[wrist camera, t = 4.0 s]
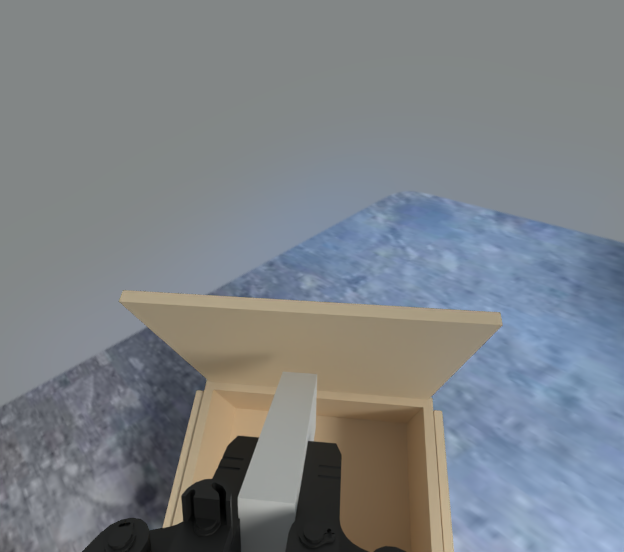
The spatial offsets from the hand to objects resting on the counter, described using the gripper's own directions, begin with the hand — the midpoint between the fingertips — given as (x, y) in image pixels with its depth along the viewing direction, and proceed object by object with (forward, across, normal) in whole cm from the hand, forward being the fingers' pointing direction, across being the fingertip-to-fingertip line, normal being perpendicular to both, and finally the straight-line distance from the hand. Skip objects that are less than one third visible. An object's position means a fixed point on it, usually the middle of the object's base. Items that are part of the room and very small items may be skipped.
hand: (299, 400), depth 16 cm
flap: (+8, 0, -4) cm, 9 cm away
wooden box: (+9, 0, -13) cm, 15 cm away
